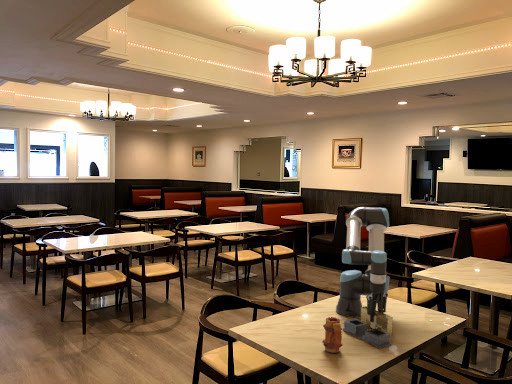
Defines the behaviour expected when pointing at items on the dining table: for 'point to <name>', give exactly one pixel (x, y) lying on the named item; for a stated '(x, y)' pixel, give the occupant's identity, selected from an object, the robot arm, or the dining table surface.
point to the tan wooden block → (378, 319)
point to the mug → (332, 335)
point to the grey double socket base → (367, 333)
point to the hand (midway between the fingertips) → (375, 327)
